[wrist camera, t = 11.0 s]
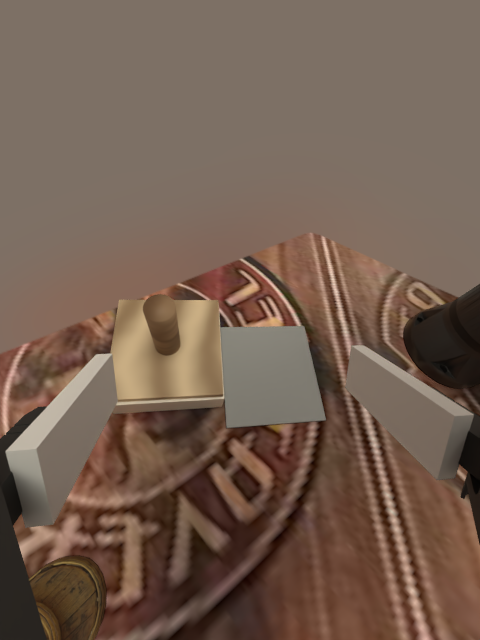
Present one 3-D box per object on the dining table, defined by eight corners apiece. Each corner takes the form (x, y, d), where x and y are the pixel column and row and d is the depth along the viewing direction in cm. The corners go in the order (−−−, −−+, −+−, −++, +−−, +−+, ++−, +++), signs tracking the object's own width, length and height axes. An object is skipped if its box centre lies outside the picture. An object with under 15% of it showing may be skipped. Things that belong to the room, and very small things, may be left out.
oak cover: (217, 304, 42) (223, 258, 33) (222, 396, 35) (231, 369, 26) (121, 304, 40) (98, 254, 31) (105, 402, 33) (70, 375, 24)
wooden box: (216, 319, 47) (218, 303, 43) (221, 406, 40) (224, 398, 35) (126, 320, 44) (118, 303, 40) (113, 413, 37) (103, 406, 33)
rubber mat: (302, 327, 48) (304, 326, 48) (324, 420, 41) (326, 420, 40) (220, 329, 46) (220, 327, 45) (226, 428, 38) (226, 427, 38)
